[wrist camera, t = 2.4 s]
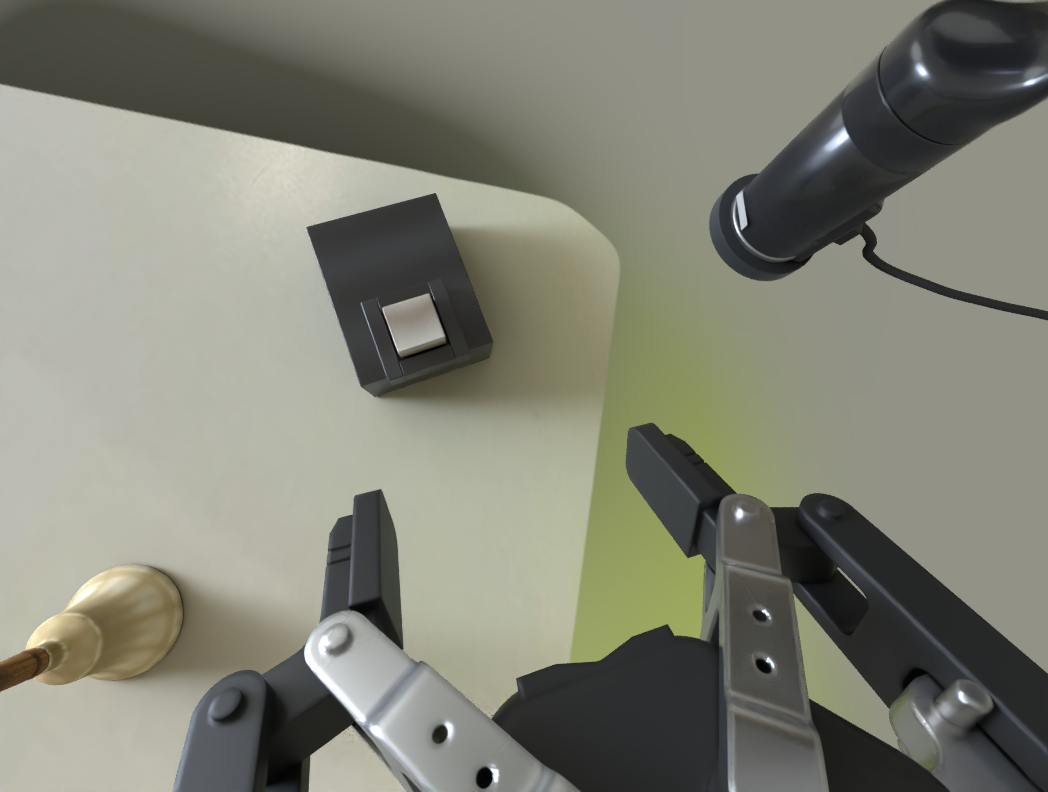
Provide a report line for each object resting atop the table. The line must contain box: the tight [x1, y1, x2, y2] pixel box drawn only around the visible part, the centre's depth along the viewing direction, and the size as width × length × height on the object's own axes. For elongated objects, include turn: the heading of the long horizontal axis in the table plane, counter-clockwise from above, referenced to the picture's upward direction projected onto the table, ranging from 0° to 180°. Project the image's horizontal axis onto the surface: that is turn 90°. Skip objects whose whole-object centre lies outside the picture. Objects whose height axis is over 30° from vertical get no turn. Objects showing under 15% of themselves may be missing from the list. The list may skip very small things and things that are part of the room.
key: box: [382, 293, 446, 358], centre depth 33 cm, size 4×4×2 cm
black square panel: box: [306, 193, 493, 397], centre depth 37 cm, size 15×11×7 cm
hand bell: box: [0, 565, 183, 692], centre depth 26 cm, size 8×8×16 cm
